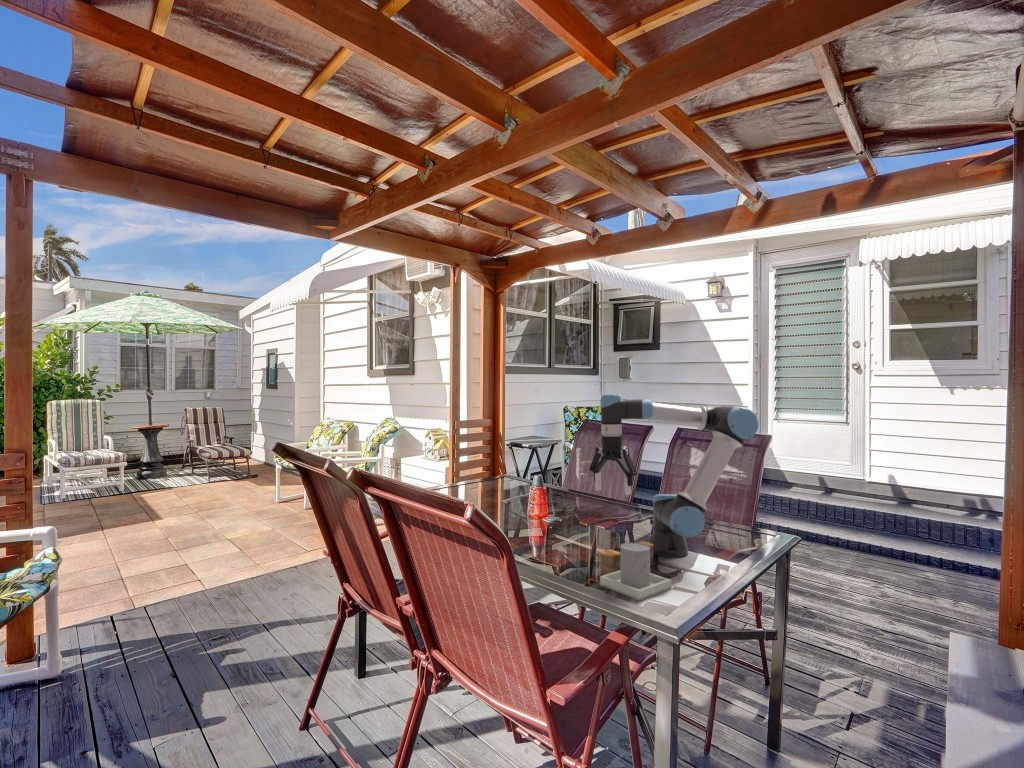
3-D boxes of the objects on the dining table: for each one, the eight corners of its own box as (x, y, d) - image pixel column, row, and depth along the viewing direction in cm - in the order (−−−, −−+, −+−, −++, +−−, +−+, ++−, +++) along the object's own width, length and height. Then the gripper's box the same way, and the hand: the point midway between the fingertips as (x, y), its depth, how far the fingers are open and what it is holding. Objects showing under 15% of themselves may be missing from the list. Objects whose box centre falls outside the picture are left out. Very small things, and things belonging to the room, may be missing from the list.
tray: (631, 575, 174) (631, 566, 174) (671, 589, 161) (671, 580, 161) (600, 585, 164) (600, 576, 164) (639, 601, 151) (639, 591, 151)
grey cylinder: (645, 579, 167) (645, 542, 168) (654, 590, 158) (654, 551, 158) (617, 579, 167) (617, 542, 167) (624, 590, 157) (624, 551, 158)
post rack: (642, 561, 189) (642, 541, 189) (653, 565, 185) (653, 544, 185) (600, 573, 175) (600, 552, 175) (611, 578, 171) (611, 555, 171)
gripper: (579, 434, 194) (580, 489, 194) (633, 437, 176) (635, 498, 175) (591, 433, 199) (592, 487, 199) (645, 436, 181) (647, 495, 180)
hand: (612, 492), depth 187 cm, fingers open, 13 cm apart
